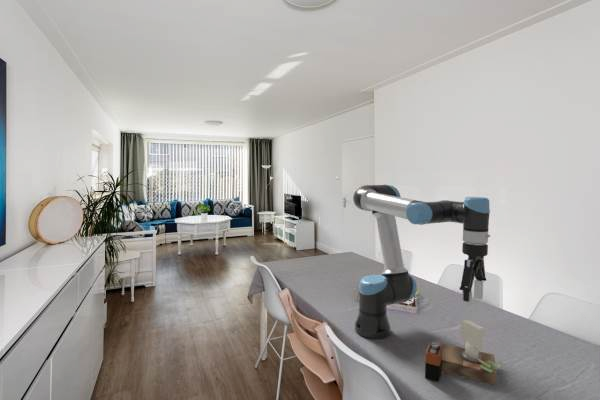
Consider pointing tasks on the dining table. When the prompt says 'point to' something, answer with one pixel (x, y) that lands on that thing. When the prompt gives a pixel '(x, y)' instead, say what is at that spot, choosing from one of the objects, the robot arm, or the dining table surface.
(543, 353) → the dining table surface
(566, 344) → the dining table surface
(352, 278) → the dining table surface
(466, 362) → the board
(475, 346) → the peg knob
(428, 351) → the battery
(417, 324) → the dining table surface
